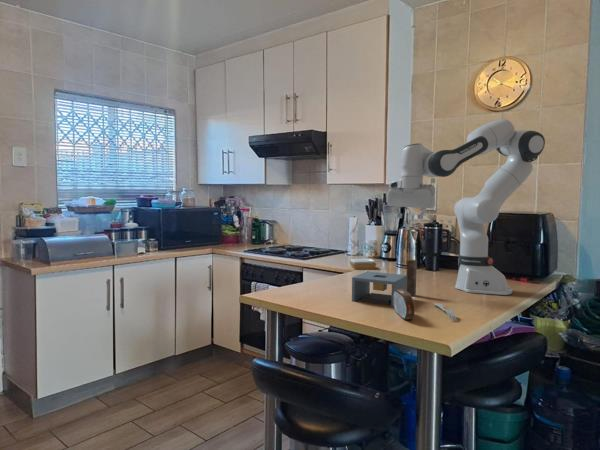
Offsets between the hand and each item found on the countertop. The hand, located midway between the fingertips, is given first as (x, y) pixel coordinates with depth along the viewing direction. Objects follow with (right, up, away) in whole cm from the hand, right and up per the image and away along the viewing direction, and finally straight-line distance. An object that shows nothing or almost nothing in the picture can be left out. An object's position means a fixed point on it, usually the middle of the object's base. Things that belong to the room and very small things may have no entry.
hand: (409, 218), depth 181 cm
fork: (+4, -33, -31) cm, 45 cm away
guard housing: (-14, -31, -13) cm, 36 cm away
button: (-14, -27, -13) cm, 33 cm away
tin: (-11, -33, -35) cm, 49 cm away
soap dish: (-11, -27, +60) cm, 66 cm away
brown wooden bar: (0, -30, -4) cm, 31 cm away
